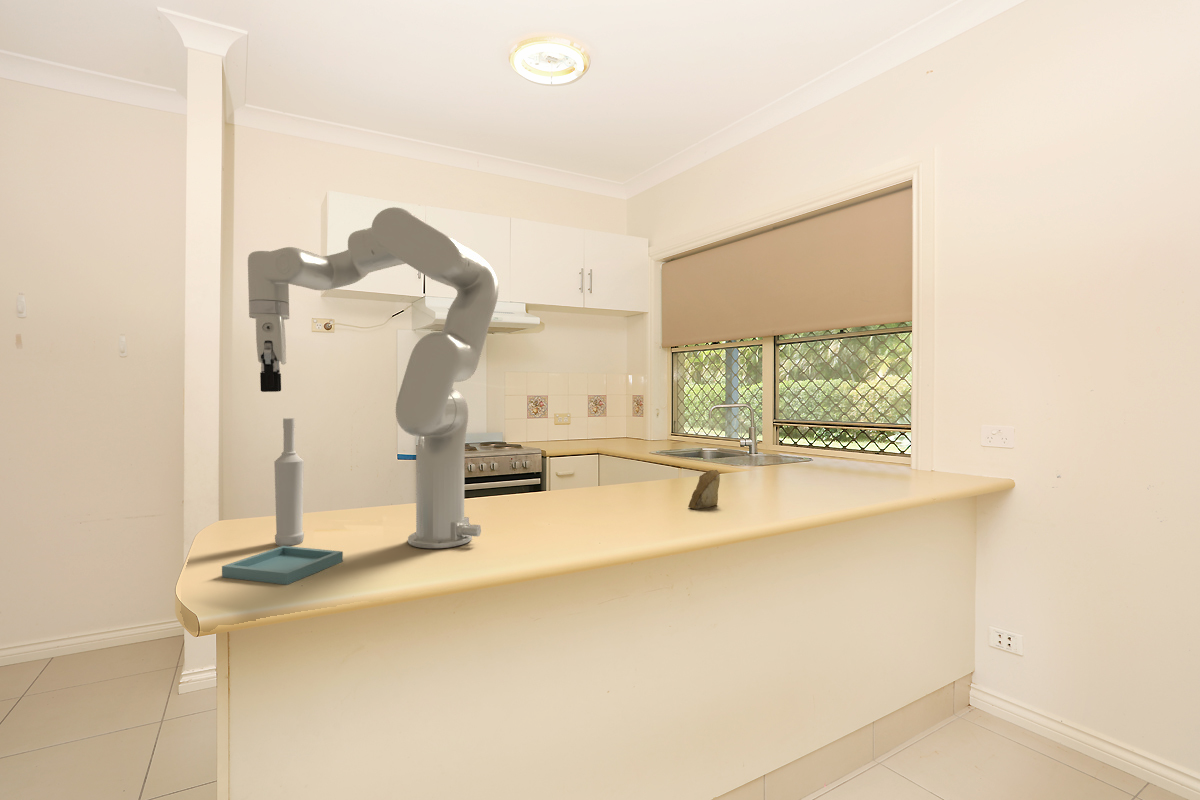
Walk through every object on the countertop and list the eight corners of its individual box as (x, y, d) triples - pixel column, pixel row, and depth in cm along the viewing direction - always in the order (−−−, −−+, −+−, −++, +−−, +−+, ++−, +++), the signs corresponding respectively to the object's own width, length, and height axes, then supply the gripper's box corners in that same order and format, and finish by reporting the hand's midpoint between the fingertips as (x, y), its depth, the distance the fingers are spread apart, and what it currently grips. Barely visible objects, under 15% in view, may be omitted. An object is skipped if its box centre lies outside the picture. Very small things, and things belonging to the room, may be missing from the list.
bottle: (274, 547, 116) (273, 419, 115) (275, 541, 120) (274, 417, 120) (304, 544, 118) (303, 418, 118) (303, 538, 123) (303, 417, 122)
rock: (695, 503, 151) (730, 496, 154) (683, 474, 156) (717, 467, 159) (684, 520, 160) (717, 513, 163) (673, 492, 164) (705, 486, 167)
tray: (342, 561, 107) (342, 551, 107) (287, 584, 95) (287, 573, 95) (283, 555, 111) (283, 545, 111) (222, 577, 98) (221, 566, 98)
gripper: (287, 307, 120) (289, 391, 121) (290, 316, 136) (292, 391, 136) (244, 305, 117) (246, 392, 118) (253, 315, 133) (255, 391, 133)
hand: (271, 391), depth 127 cm, fingers open, 9 cm apart
